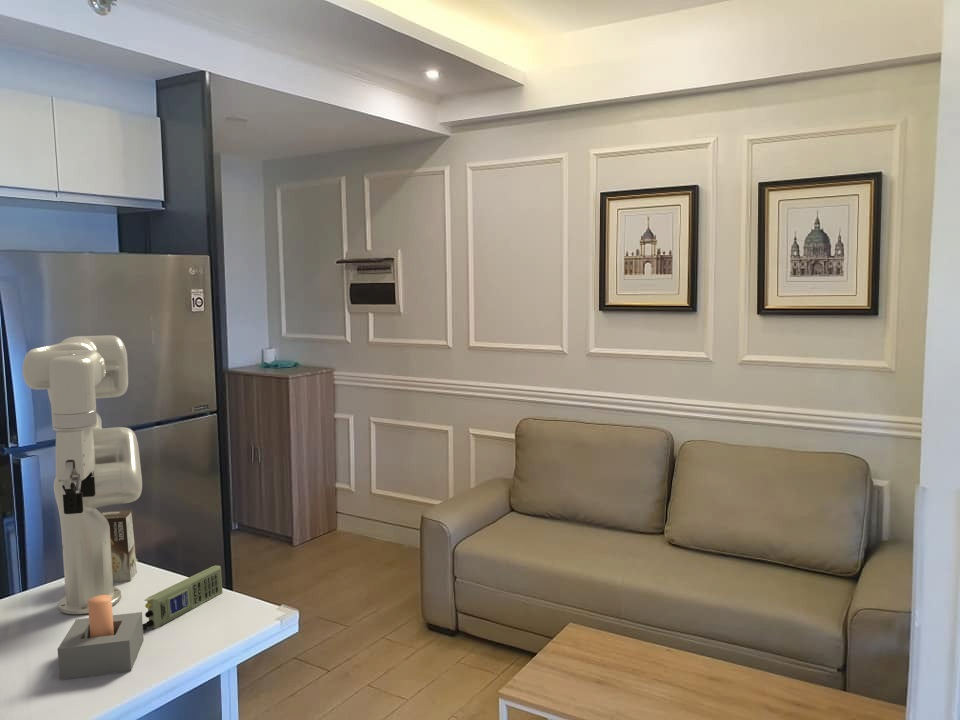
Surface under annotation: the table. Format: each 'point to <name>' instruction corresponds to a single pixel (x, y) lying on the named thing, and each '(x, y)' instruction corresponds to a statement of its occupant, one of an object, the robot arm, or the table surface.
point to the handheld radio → (183, 597)
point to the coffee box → (122, 544)
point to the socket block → (100, 648)
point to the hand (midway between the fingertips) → (80, 504)
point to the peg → (100, 616)
